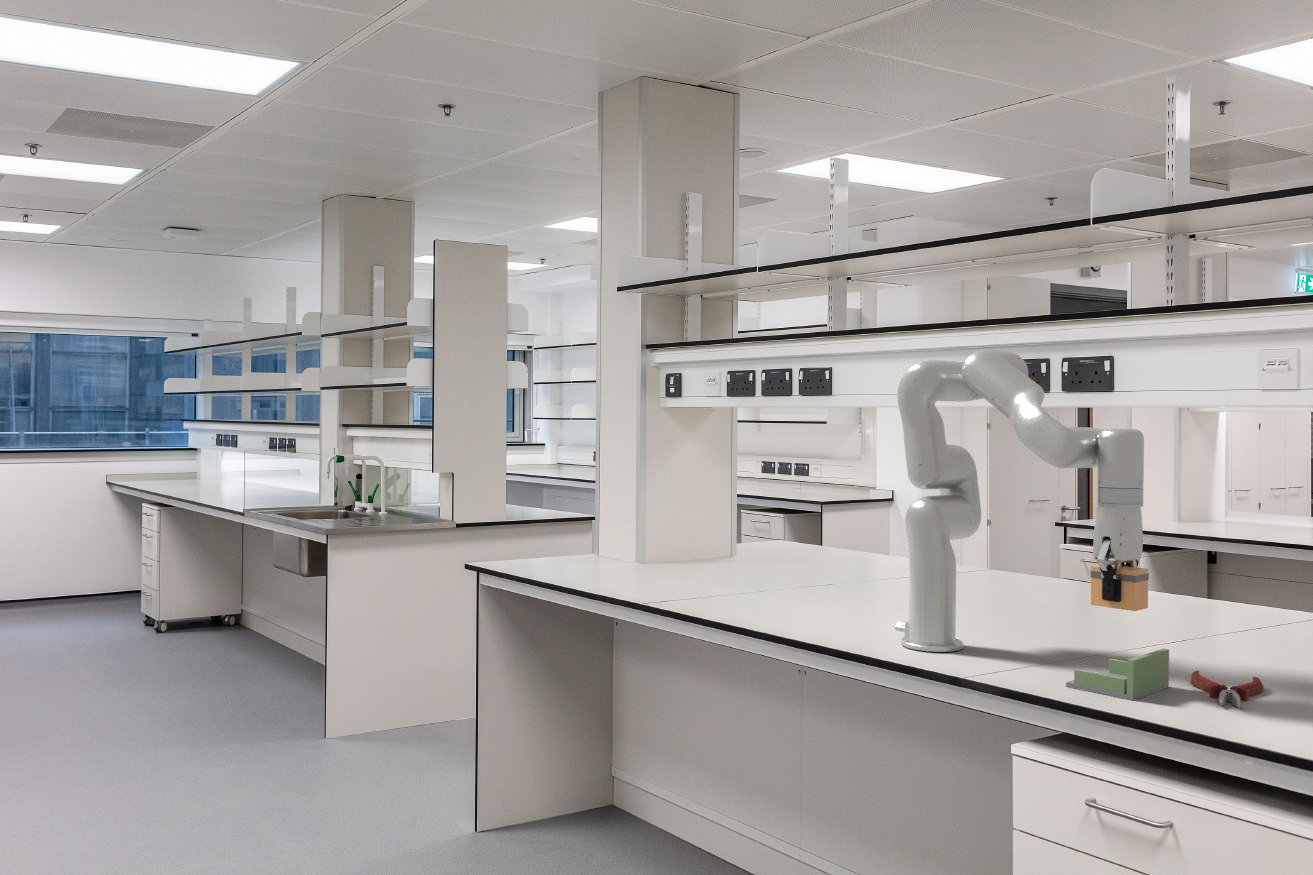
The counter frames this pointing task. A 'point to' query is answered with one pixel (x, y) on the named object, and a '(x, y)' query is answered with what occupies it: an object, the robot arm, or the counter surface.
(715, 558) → the counter surface
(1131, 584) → the chute block
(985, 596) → the counter surface
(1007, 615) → the counter surface
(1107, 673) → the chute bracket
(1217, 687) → the pliers
